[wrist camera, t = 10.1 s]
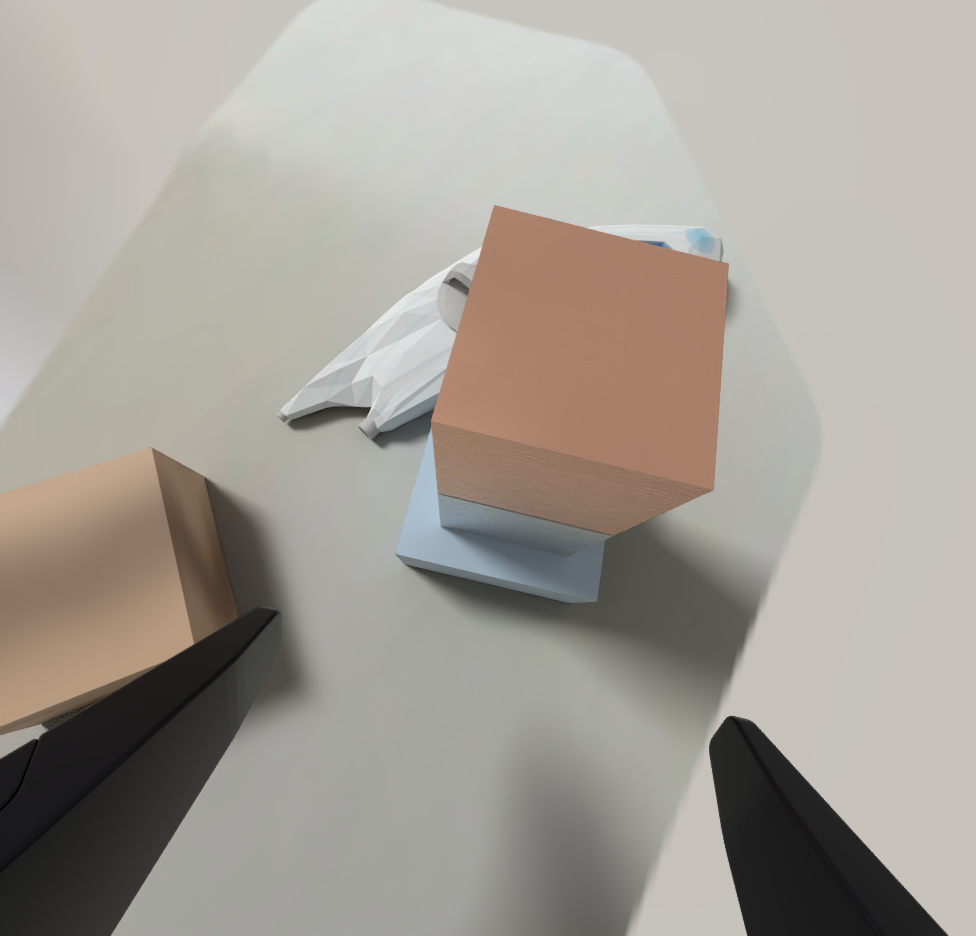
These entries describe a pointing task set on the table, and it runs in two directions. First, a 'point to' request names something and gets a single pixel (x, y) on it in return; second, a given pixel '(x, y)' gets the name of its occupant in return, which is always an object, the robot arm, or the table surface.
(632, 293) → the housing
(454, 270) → the spaceship
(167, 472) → the stand
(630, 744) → the table surface
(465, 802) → the table surface
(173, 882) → the table surface
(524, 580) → the stand
